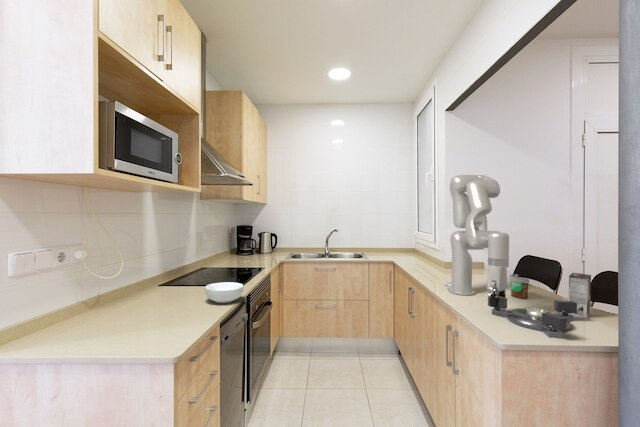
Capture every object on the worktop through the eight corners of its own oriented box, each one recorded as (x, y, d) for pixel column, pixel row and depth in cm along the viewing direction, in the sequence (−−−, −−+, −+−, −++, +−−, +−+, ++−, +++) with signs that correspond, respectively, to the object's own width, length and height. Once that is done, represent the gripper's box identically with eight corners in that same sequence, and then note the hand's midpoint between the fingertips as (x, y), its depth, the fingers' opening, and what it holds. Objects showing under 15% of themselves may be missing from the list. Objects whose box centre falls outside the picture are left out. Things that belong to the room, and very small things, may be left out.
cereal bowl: (249, 302, 149) (249, 287, 149) (211, 308, 140) (211, 292, 140) (235, 294, 163) (235, 280, 163) (200, 299, 154) (200, 284, 154)
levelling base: (480, 321, 126) (481, 303, 126) (504, 305, 148) (504, 290, 148) (564, 341, 108) (565, 320, 108) (577, 319, 130) (577, 301, 130)
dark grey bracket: (487, 306, 137) (487, 295, 137) (490, 304, 140) (490, 293, 140) (504, 309, 132) (504, 298, 132) (507, 307, 135) (507, 296, 135)
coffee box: (571, 309, 143) (572, 272, 143) (590, 313, 138) (591, 274, 138) (567, 314, 137) (568, 275, 136) (587, 318, 132) (588, 277, 132)
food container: (504, 293, 171) (504, 273, 170) (517, 293, 170) (517, 274, 170) (514, 299, 158) (515, 278, 158) (528, 300, 158) (529, 279, 157)
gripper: (494, 259, 145) (494, 299, 145) (481, 263, 132) (480, 307, 132) (514, 261, 139) (513, 302, 140) (501, 266, 127) (501, 311, 127)
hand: (497, 304), depth 136 cm, fingers open, 8 cm apart
